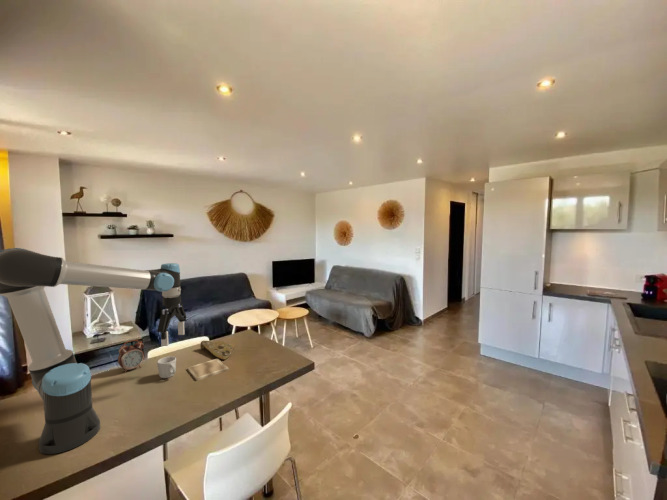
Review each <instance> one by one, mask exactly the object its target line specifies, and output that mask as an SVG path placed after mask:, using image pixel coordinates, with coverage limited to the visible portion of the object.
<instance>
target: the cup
mask: <svg viewBox="0 0 667 500" xmlns="http://www.w3.org/2000/svg"><path fill="white" fill-rule="evenodd" d="M156 365H157V370H158V376H159V377H160V378H161V379H168V378H171V377H173V376H174V375H175V374H176V373H177V372H176V371H177V370H176V369H177V358H176V356H174V355H173V356H172V355H170V356H169V355H168V356H165V357H162V358H160V359H158V360H157V362H156Z"/></svg>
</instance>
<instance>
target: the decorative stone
mask: <svg viewBox="0 0 667 500" xmlns="http://www.w3.org/2000/svg"><path fill="white" fill-rule="evenodd" d="M234 347H235V345H234V344H232V343H228V342H225V341H223V340H222V341H221V340H213V341H212V340H211V341H209V340H201V342H200V350H205V349H206V350H208V351H209V352H210V354H212V355H213V356H214V357H216V359H217V358H218V359H219V360H227V359H228V358H229V357H230V356H231V355H232V353H233V349H234Z"/></svg>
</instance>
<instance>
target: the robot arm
mask: <svg viewBox="0 0 667 500" xmlns="http://www.w3.org/2000/svg"><path fill="white" fill-rule="evenodd" d="M180 269H181V268H180V264H179V263H177V262H171V263H170V262H169V263H162V264H161V265H160V268H158V269H157V268H156V269H146V270H145V269H144V270H142V269H137V268H126V267H117V266H109V265H102V264H101V265H100V264H92V263H91V264H90V263H83V262H76V261H75V262H74V261H67V260H65V259H64V258H63V257H61V256H60V257H59V256H51V255H46V254H44V253H43V254H42V253H40V252H35V251H33V250H29V249H25V248H21V247H12V248H6V249H2V250H0V296H2V297H5V298H6V299H7V301H8V303H9V305H10V308H11V311H12V314H13V316H14V318H15V320H16V323H17V325H18V328H19V330H20V334H21V336H22V338H23V341H24V343H25V346H26V350H27V351H28V353H29V357H30V359H31V362H30V364H29V365H28V366H27V369H28V371H29V374H30V377H31V381H32V382H31V383H32V386H33V387H34V389H35V390H36V392H37V393H38V395H39V396H40V398H41V399H42V402H43V403H42V404H43V410H44V411H43V412H44V413H43V415H44V425H43V429H42V432H41V434H40V438H39V440H38V450H39V452H40V453H42V454H44V455H53V454H56V455H57V454H59V453H64V452H67V451H70V450H72V449H75V448H77V447H80V446H81V445H84V444H85V443H86V442H88V441H89V440H91V439H92V438H94V437H95V436H96V435H97V434H98V433H99V432H100V429H101V420H100V417H99V416H98V414H97V412H96V410H95V409H94V407H93V397H92V396H93V395H92V373H91V370H90V367H89V366H88V365H87V364H85V363H83V362H80V363H78V362H77V360H76V357H75V354H74V351H73V350H71V349H66V346H65V344H64V341H63V338H62V335H61V333H60V330H59V327H58V325H57V322H56V319H55V316H54V313H53V310H52V306H51V305H50V302H49V299H48V297H47V294H46V291H45V288H46V287H49V288H50V287H51V288H55V287H57V286H59V285H68V286H69V285H71V286H85V287H86V286H87V287H99V288H100V287H101V288H115V289H129V290H130V289H132V290H135V289H136V290H147V291H157V292H161V293H162V294H161V296H162V305H163V306H164V307H165V309H161V310H160V316H159V321H158V325H157V329H156V332H157V333H160V339H161V340H160V341H161V343H160V344H161V347H168V346H169V331H168V329H169V325H170V324H171V323H170V322H171V320H172V319H173V318H174V317H175V318H176V319H177V320H178V322H177V330H178V333H177V335H178V336H184V335H185V322H186V321H187V318H188V317H187V314H186V311H185V309H184V306H183V305H184V304H183V302H182V296H181V291H182V288H181V270H180Z"/></svg>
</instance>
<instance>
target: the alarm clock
mask: <svg viewBox="0 0 667 500" xmlns="http://www.w3.org/2000/svg"><path fill="white" fill-rule="evenodd" d="M134 341H135V343H134V345H132V344H131V345H129V346H128V345H126V344H127V343H130V342H134ZM144 347H145V345H144V343H143V341H142V340H140V341H139V340H138V339H131V340H128V341H126V342H124V343H123V345H121V346H120V347H119V349H118V353H119V355H118V357H117V363H118V365H119V366H120V367H121V368H122V369H123V371H124V373H127V370H128V371H129V370H134V369H136V368H138V367H139V369H140V368H142V367H141V365H142V364H143V363H144V360H145V355H146V354H145V351H144V350H143V349H144ZM141 361H142V362H141Z"/></svg>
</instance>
